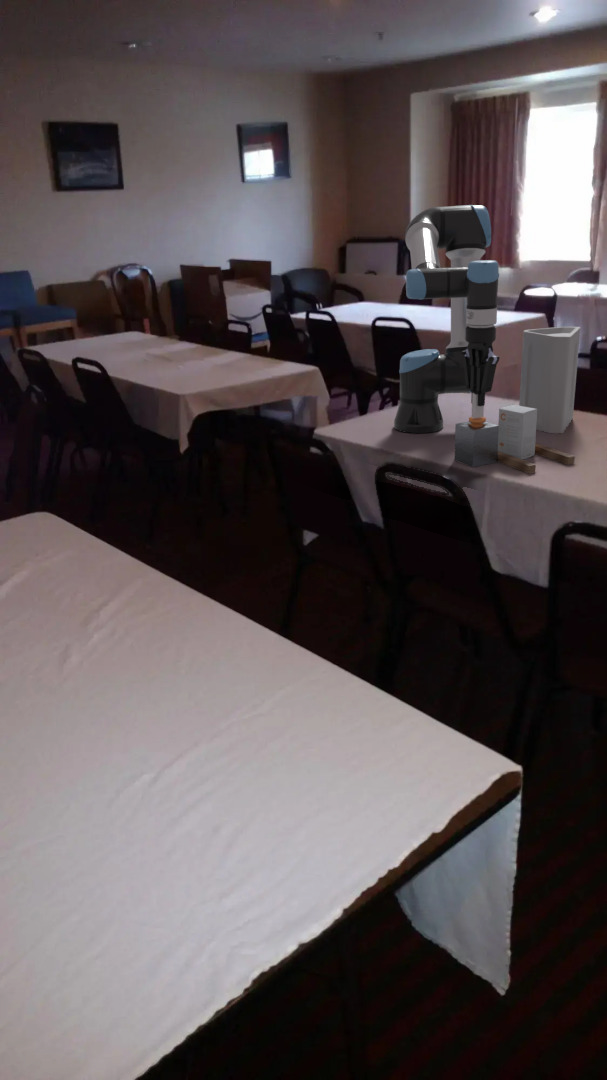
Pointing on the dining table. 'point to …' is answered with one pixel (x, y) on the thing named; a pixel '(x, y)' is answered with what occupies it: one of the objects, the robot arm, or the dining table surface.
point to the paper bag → (550, 375)
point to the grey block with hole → (476, 443)
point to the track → (539, 450)
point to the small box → (517, 431)
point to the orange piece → (477, 421)
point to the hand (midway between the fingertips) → (477, 417)
